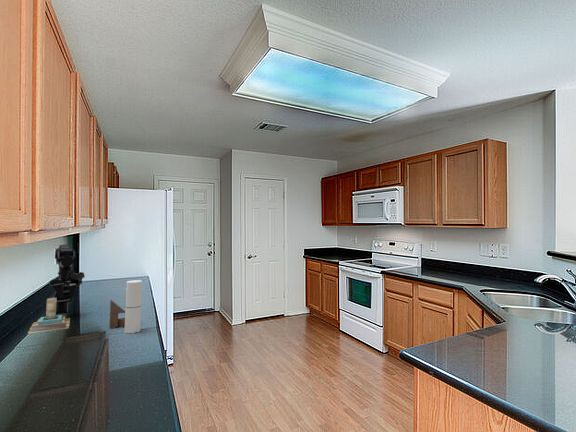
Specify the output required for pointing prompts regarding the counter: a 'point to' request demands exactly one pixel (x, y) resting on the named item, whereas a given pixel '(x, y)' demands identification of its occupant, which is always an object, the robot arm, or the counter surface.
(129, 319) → the cylindrical container
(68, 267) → the robot arm
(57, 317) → the socket block
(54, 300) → the birch dowel
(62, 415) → the counter surface
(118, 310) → the wooden block
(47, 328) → the rail base
